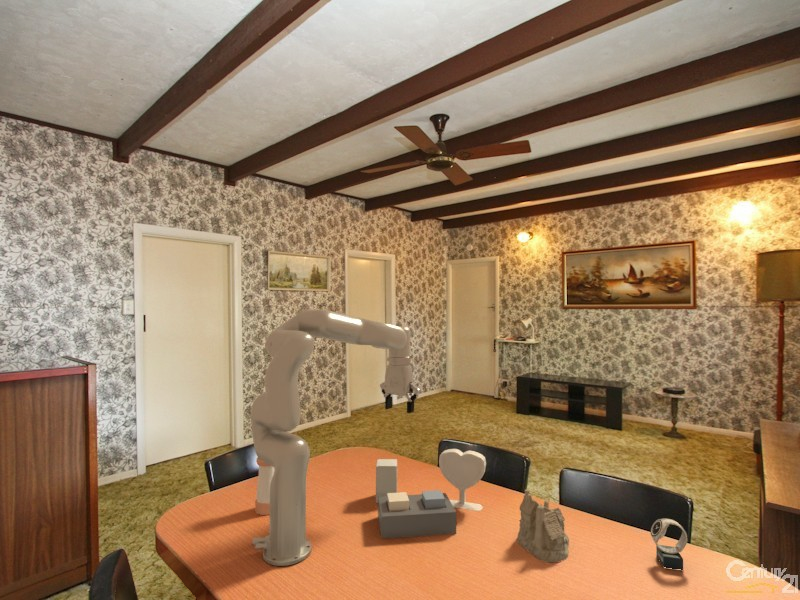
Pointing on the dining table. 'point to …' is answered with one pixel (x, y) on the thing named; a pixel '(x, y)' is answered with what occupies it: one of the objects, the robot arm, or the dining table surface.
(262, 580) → the dining table surface
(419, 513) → the control pad
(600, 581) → the dining table surface
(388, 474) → the supplement box
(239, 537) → the dining table surface
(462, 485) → the heart sculpture
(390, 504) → the cream key
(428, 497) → the slate blue key
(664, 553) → the watch
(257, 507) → the pepper shaker
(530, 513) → the ceramic cottage
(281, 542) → the robot arm
